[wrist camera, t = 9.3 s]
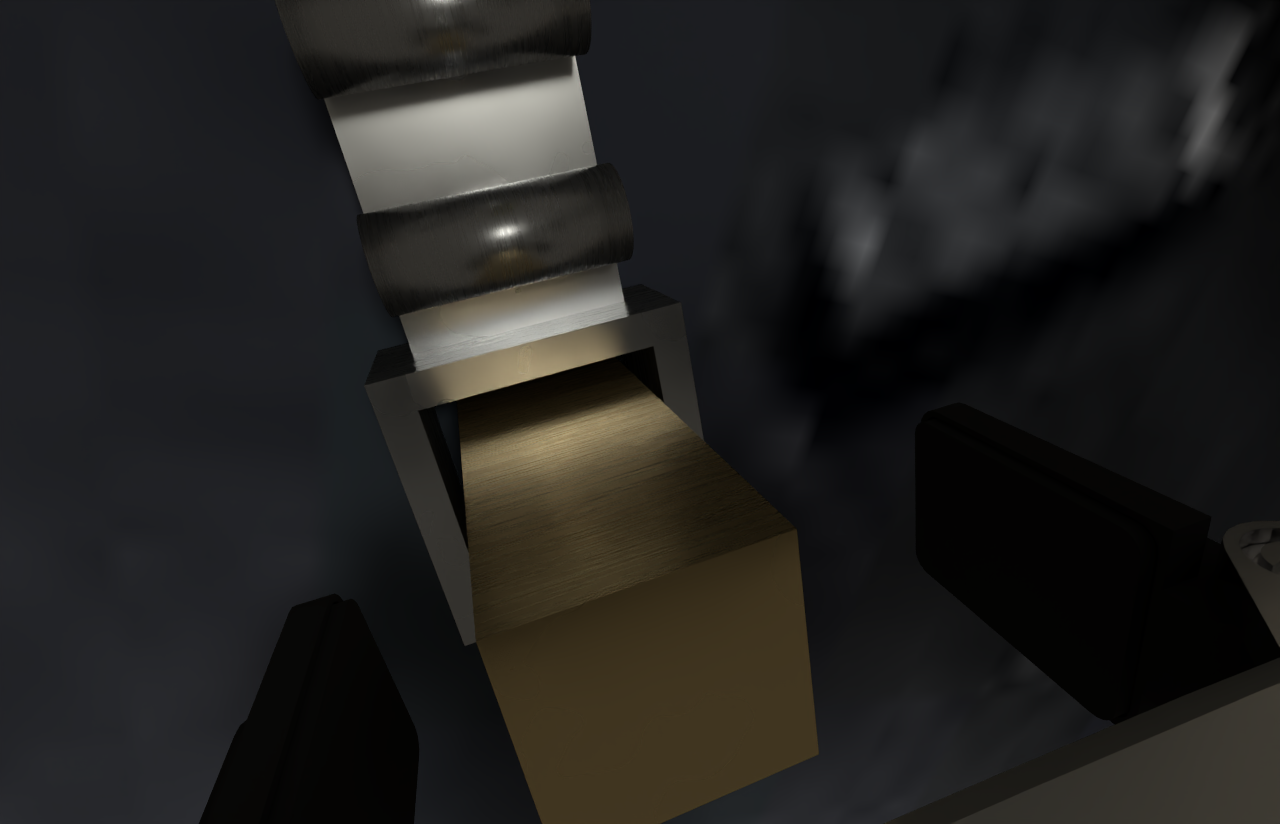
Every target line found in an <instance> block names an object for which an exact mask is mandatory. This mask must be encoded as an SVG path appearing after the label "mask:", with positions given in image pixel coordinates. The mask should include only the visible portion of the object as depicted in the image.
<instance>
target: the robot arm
mask: <svg viewBox="0 0 1280 824" xmlns="http://www.w3.org/2000/svg"><path fill="white" fill-rule="evenodd" d="M915 478H916V554H917V558H918V560H919V562H920V564H921V566H922V567H923V569H924V570H925V571H926V572H927V573H928V574H929V575H931V576H932V577H933V578H934V579H935V580H936V581H938V582H939V583H940V584H941V585H942V586H943V587H945V588H946V589H947V590H948V591H949V592H950V593H952V594H953V595H954V596H955V597H956V598H957V599H959V600H960V601H961V602H962V603H963V604H964V605H966V606H967V607H968V608H969V609H970V610H971V611H973V612H974V613H975V614H976V615H977V616H978V617H980V618H981V619H982V620H983V621H984V622H985V623H987V624H988V625H989V626H990V627H991V628H992V629H994V630H995V631H996V632H997V633H998V634H999V635H1001V636H1002V637H1003V638H1004V639H1005V640H1007V641H1008V642H1009V643H1010V644H1011V645H1012V646H1014V647H1015V648H1016V649H1017V650H1018V651H1019V652H1021V653H1022V654H1023V655H1024V656H1025V657H1026V658H1028V659H1029V660H1030V661H1031V662H1032V663H1033V664H1035V665H1036V666H1037V667H1038V668H1039V669H1040V670H1042V671H1043V672H1044V673H1045V674H1046V675H1047V676H1049V677H1050V678H1051V679H1052V680H1053V681H1054V682H1056V683H1057V684H1058V685H1059V686H1060V687H1061V688H1063V689H1064V690H1065V691H1066V692H1067V693H1068V694H1070V695H1071V696H1072V697H1073V698H1074V699H1075V700H1077V701H1078V702H1079V703H1080V704H1081V705H1082V706H1084V707H1085V708H1086V709H1087V710H1088V711H1089V712H1091V713H1092V714H1093V715H1095V716H1096V717H1098V718H1100V719H1103V720H1110V721H1111V722H1112V723H1114V724H1115V725H1113V726H1111V727H1109V728H1106V729H1104V730H1102V731H1099V732H1097V733H1095V734H1092V735H1090V736H1087V737H1085V738H1083V739H1080V740H1078V741H1076V742H1073V743H1071V744H1069V745H1066V746H1064V747H1061V748H1059V749H1057V750H1054V751H1052V752H1050V753H1047V754H1045V755H1043V756H1040V757H1038V758H1036V759H1033V760H1031V761H1028V762H1026V763H1024V764H1021V765H1019V766H1017V767H1014V768H1012V769H1010V770H1007V771H1005V772H1003V773H1000V774H998V775H996V776H993V777H991V778H989V779H986V780H984V781H982V782H979V783H977V784H975V785H972V786H970V787H968V788H965V789H963V790H961V791H958V792H956V793H954V794H951V795H949V796H947V797H945V798H942V799H940V800H938V801H935V802H933V803H931V804H928V805H926V806H924V807H921V808H919V809H917V810H914V811H912V812H910V813H907V814H905V815H903V816H900V817H898V818H896V819H893V820H891V821H889V822H886V823H884V824H1280V521H1254V522H1248V523H1242V524H1238V525H1236V526H1234V527H1232V528H1230V529H1228V530H1227V532H1226V533H1225V535H1224V536H1223V538H1222V542H1221V544H1219V543H1217V542H1215V541H1213V540H1211V539H1209V538H1207V534H1208V530H1209V525H1210V521H1211V516H1208V515H1206V514H1204V513H1202V512H1200V511H1197V510H1195V509H1193V508H1191V507H1189V506H1187V505H1184V504H1182V503H1180V502H1178V501H1176V500H1173V499H1171V498H1169V497H1167V496H1165V495H1162V494H1160V493H1158V492H1156V491H1154V490H1152V489H1149V488H1147V487H1145V486H1143V485H1141V484H1138V483H1136V482H1134V481H1132V480H1130V479H1127V478H1125V477H1123V476H1121V475H1119V474H1117V473H1114V472H1112V471H1110V470H1108V469H1106V468H1103V467H1101V466H1099V465H1097V464H1095V463H1092V462H1090V461H1088V460H1086V459H1084V458H1081V457H1079V456H1077V455H1075V454H1073V453H1071V452H1068V451H1066V450H1064V449H1062V448H1060V447H1057V446H1055V445H1053V444H1051V443H1049V442H1046V441H1044V440H1042V439H1040V438H1038V437H1036V436H1033V435H1031V434H1029V433H1027V432H1025V431H1022V430H1020V429H1018V428H1016V427H1014V426H1011V425H1009V424H1007V423H1005V422H1003V421H1001V420H998V419H996V418H994V417H992V416H990V415H987V414H985V413H983V412H981V411H979V410H976V409H974V408H972V407H970V406H968V405H966V404H962V403H955V404H951V405H948V406H945V407H941V408H938V409H935V410H932V411H928V412H927V413H925V414H924V416H923V418H922V420H921V423H919V424H918V425H917V427H916V431H915ZM418 761H419V742H418V736H417V732H416V729H415V726H414V724H413V722H412V720H411V717H410V715H409V713H408V711H407V709H406V707H405V705H404V702H403V700H402V698H401V696H400V694H399V692H398V690H397V687H396V685H395V683H394V681H393V679H392V677H391V675H390V672H389V670H388V668H387V666H386V664H385V662H384V660H383V657H382V655H381V653H380V651H379V649H378V647H377V645H376V642H375V640H374V638H373V636H372V634H371V632H370V630H369V627H368V625H367V623H366V621H365V619H364V617H363V615H362V612H361V610H360V608H359V606H358V604H357V603H356V602H355V601H354V600H353V599H349V600H346V601H343V600H342V599H341V598H340V597H339V596H338V595H337V594H332V595H329V596H325V597H322V598H319V599H316V600H312V601H309V602H306V603H302V604H299V605H296V606H294V607H292V609H291V610H290V612H289V614H288V617H287V619H286V622H285V624H284V627H283V629H282V632H281V635H280V637H279V640H278V642H277V645H276V647H275V650H274V652H273V655H272V657H271V660H270V663H269V665H268V668H267V670H266V673H265V675H264V678H263V680H262V683H261V685H260V688H259V691H258V693H257V696H256V698H255V701H254V703H253V706H252V708H251V711H250V713H249V716H248V719H247V720H246V721H245V722H244V723H243V724H241V725H240V727H239V729H238V730H237V732H236V734H235V736H234V738H233V740H232V743H231V745H230V748H229V750H228V753H227V755H226V758H225V760H224V763H223V765H222V768H221V770H220V773H219V775H218V778H217V780H216V783H215V785H214V787H213V790H212V792H211V795H210V797H209V800H208V802H207V805H206V807H205V810H204V812H203V815H202V817H201V820H200V822H199V824H414V816H415V803H416V789H417V775H418Z"/></svg>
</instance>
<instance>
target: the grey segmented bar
mask: <svg viewBox="0 0 1280 824" xmlns="http://www.w3.org/2000/svg"><path fill="white" fill-rule="evenodd" d="M275 3H276V6H277V9H278V12H279V15H280V18H281V21H282V24H283V27H284V29H285V32H286V35H287V37H288V40H289V42H290V45H291V47H292V50H293V52H294V55H295V57H296V60H297V62H298V64H299V67H300V69H301V71H302V73H303V75H304V78H305V80H306V82H307V84H308V86H309V87H310V89H311V91H312V93H313V94H314V96H315V97H316V98H317V99H324V100H325V103H326V106H327V109H328V112H329V115H330V117H331V120H332V123H333V126H334V129H335V132H336V135H337V138H338V141H339V143H340V146H341V149H342V152H343V155H344V158H345V161H346V164H347V167H348V169H349V172H350V175H351V178H352V181H353V184H354V187H355V190H356V192H357V195H358V198H359V201H360V204H361V207H362V210H363V213H364V214H359V215H357V225H358V231H359V235H360V239H361V243H362V247H363V250H364V253H365V257H366V260H367V263H368V266H369V269H370V272H371V275H372V277H373V280H374V283H375V285H376V288H377V290H378V293H379V295H380V297H381V300H382V302H383V304H384V306H385V308H386V310H387V312H388V313H389V315H390V316H391V317H396V316H399V317H400V319H401V322H402V325H403V328H404V331H405V334H406V337H407V340H408V342H409V343H406V344H402V345H398V346H394V347H390V348H386V349H382V350H378V352H377V354H376V357H375V359H374V362H373V364H372V367H371V370H370V372H369V375H368V377H367V380H366V382H365V385H364V386H365V389H366V391H367V394H368V397H369V399H370V402H371V404H372V407H373V410H374V412H375V415H376V417H377V420H378V422H379V425H380V428H381V430H382V433H383V435H384V438H385V441H386V443H387V446H388V448H389V451H390V454H391V456H392V459H393V461H394V464H395V466H396V469H397V472H398V474H399V477H400V479H401V482H402V485H403V487H404V490H405V492H406V495H407V498H408V500H409V503H410V505H411V508H412V510H413V513H414V516H415V518H416V521H417V523H418V526H419V529H420V531H421V534H422V536H423V539H424V542H425V544H426V547H427V549H428V552H429V555H430V557H431V560H432V562H433V565H434V567H435V570H436V573H437V575H438V578H439V580H440V583H441V586H442V588H443V591H444V593H445V596H446V599H447V601H448V604H449V606H450V609H451V611H452V614H453V617H454V619H455V622H456V624H457V627H458V630H459V632H460V635H461V637H462V640H463V643H464V645H465V646H466V645H469V644H472V643H475V642H476V638H475V625H474V613H473V600H472V587H471V574H470V562H469V549H468V536H467V524H466V511H465V498H464V493H463V490H462V488H461V485H460V482H459V479H458V476H457V473H456V470H455V467H454V464H453V461H452V459H451V456H450V453H449V450H448V447H447V444H446V441H445V438H444V435H443V432H442V430H441V427H440V424H439V421H438V418H437V415H436V412H435V409H434V406H437V405H441V404H445V403H448V402H452V401H456V400H459V399H463V398H466V397H470V396H474V395H477V394H481V393H485V392H488V391H492V390H495V389H499V388H503V387H506V386H510V385H514V384H517V383H521V382H525V381H528V380H532V379H535V378H539V377H543V376H546V375H550V374H554V373H557V372H561V371H565V370H568V369H572V368H575V367H579V366H583V365H586V364H590V363H594V362H597V361H601V360H604V359H608V358H612V357H615V356H619V355H623V354H626V359H627V363H628V368H629V371H630V372H631V373H633V374H634V375H635V376H636V377H637V378H638V379H639V380H640V381H641V382H642V383H643V384H644V385H645V386H646V387H647V388H648V389H649V390H651V391H652V392H653V393H654V394H655V395H656V396H657V397H658V398H659V399H660V400H661V401H662V402H663V403H664V404H665V405H666V406H667V407H668V408H670V409H671V410H672V411H673V412H674V413H675V414H676V415H677V416H678V417H679V418H680V419H681V420H682V421H683V422H684V423H685V424H686V425H687V426H689V427H690V428H691V429H692V430H693V431H694V432H695V433H696V434H697V435H698V436H699V437H700V438H701V439H702V440H703V441H704V439H703V433H702V427H701V421H700V415H699V409H698V403H697V397H696V390H695V384H694V378H693V372H692V366H691V360H690V354H689V348H688V342H687V336H686V330H685V324H684V318H683V312H682V306H681V302H679V301H677V300H675V299H672V298H670V297H668V296H666V295H664V294H662V293H659V292H657V291H655V290H653V289H651V288H649V287H646V286H644V285H642V284H640V285H636V286H632V287H628V288H624V289H622V287H621V282H620V277H619V273H618V268H617V263H618V262H622V261H626V260H629V259H630V258H631V257H632V254H633V245H634V239H633V227H632V219H631V214H630V209H629V204H628V200H627V197H626V193H625V190H624V187H623V184H622V182H621V179H620V177H619V175H618V173H617V171H616V169H615V168H614V166H613V165H612V164H610V163H605V164H600V165H597V163H596V158H595V153H594V148H593V143H592V138H591V133H590V128H589V123H588V118H587V113H586V108H585V103H584V98H583V93H582V88H581V84H580V79H579V74H578V69H577V64H576V59H575V56H579V55H585V54H587V52H588V50H589V47H590V42H591V8H590V0H275Z"/></svg>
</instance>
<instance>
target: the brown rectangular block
mask: <svg viewBox="0 0 1280 824" xmlns="http://www.w3.org/2000/svg"><path fill="white" fill-rule="evenodd" d="M457 410H458V422H459V435H460V448H461V460H462V473H463V486H464V498H465V511H466V524H467V536H468V549H469V562H470V574H471V587H472V600H473V613H474V625H475V638H476V643H477V646H478V649H479V651H480V654H481V657H482V660H483V662H484V665H485V668H486V671H487V673H488V676H489V679H490V682H491V684H492V687H493V690H494V693H495V695H496V698H497V701H498V704H499V706H500V709H501V712H502V715H503V717H504V720H505V723H506V726H507V728H508V731H509V734H510V737H511V739H512V742H513V745H514V748H515V750H516V753H517V756H518V759H519V761H520V764H521V767H522V770H523V772H524V775H525V778H526V781H527V783H528V786H529V789H530V792H531V794H532V797H533V800H534V803H535V805H536V808H537V811H538V814H539V816H540V819H541V822H542V824H660V823H663V822H665V821H667V820H669V819H672V818H674V817H676V816H679V815H681V814H683V813H685V812H688V811H690V810H692V809H695V808H697V807H699V806H702V805H704V804H706V803H708V802H711V801H713V800H715V799H718V798H720V797H722V796H724V795H727V794H729V793H731V792H734V791H736V790H738V789H740V788H743V787H745V786H747V785H750V784H752V783H754V782H756V781H759V780H761V779H763V778H766V777H768V776H770V775H772V774H775V773H777V772H779V771H782V770H784V769H786V768H788V767H791V766H793V765H795V764H798V763H800V762H802V761H804V760H807V759H809V758H811V757H814V756H816V755H818V754H819V750H818V740H817V730H816V720H815V709H814V699H813V689H812V679H811V669H810V659H809V648H808V638H807V628H806V618H805V608H804V598H803V587H802V577H801V567H800V557H799V547H798V537H797V529H796V528H795V527H794V526H793V525H792V524H791V523H790V522H789V521H788V520H787V519H786V518H785V517H784V516H783V515H781V514H780V513H779V512H778V511H777V510H776V509H775V508H774V507H773V506H772V505H771V504H770V503H769V502H768V501H767V500H766V499H765V498H764V497H762V496H761V495H760V494H759V493H758V492H757V491H756V490H755V489H754V488H753V487H752V486H751V485H750V484H749V483H748V482H747V481H746V480H744V479H743V478H742V477H741V476H740V475H739V474H738V473H737V472H736V471H735V470H734V469H733V468H732V467H731V466H730V465H729V464H728V463H727V462H725V461H724V460H723V459H722V458H721V457H720V456H719V455H718V454H717V453H716V452H715V451H714V450H713V449H712V448H711V447H710V446H709V445H708V444H706V443H705V442H704V441H703V440H702V439H701V438H700V437H699V436H698V435H697V434H696V433H695V432H694V431H693V430H692V429H691V428H690V427H689V426H687V425H686V424H685V423H684V422H683V421H682V420H681V419H680V418H679V417H678V416H677V415H676V414H675V413H674V412H673V411H672V410H671V409H670V408H668V407H667V406H666V405H665V404H664V403H663V402H662V401H661V400H660V399H659V398H658V397H657V396H656V395H655V394H654V393H653V392H652V391H651V390H649V389H648V388H647V387H646V386H645V385H644V384H643V383H642V382H641V381H640V380H639V379H638V378H637V377H636V376H635V375H634V374H633V373H631V372H630V371H629V370H628V369H627V368H626V367H625V366H624V365H623V364H622V363H621V362H620V361H619V360H618V359H617V358H616V357H612V358H608V359H604V360H601V361H597V362H594V363H590V364H586V365H583V366H579V367H575V368H572V369H568V370H565V371H561V372H557V373H554V374H550V375H546V376H543V377H539V378H535V379H532V380H528V381H525V382H521V383H517V384H514V385H510V386H506V387H503V388H499V389H495V390H492V391H488V392H485V393H481V394H477V395H474V396H470V397H466V398H463V399H459V400H457Z"/></svg>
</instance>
